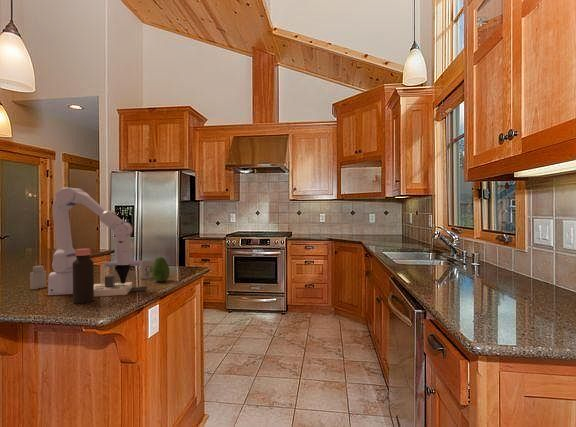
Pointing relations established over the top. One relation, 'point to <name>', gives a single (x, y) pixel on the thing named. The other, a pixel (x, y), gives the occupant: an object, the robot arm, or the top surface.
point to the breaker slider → (109, 280)
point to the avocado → (160, 270)
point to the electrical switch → (147, 269)
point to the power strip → (116, 289)
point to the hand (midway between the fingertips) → (123, 283)
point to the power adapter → (37, 277)
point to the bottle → (83, 277)
